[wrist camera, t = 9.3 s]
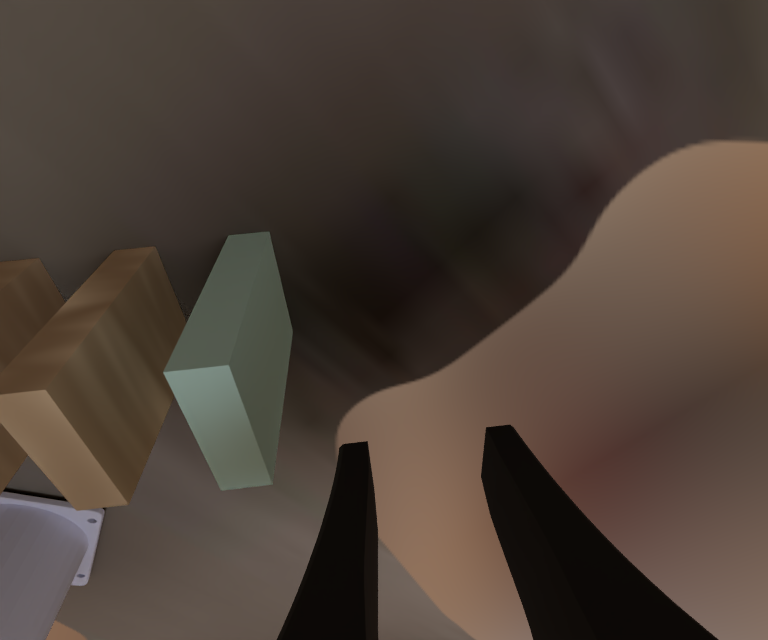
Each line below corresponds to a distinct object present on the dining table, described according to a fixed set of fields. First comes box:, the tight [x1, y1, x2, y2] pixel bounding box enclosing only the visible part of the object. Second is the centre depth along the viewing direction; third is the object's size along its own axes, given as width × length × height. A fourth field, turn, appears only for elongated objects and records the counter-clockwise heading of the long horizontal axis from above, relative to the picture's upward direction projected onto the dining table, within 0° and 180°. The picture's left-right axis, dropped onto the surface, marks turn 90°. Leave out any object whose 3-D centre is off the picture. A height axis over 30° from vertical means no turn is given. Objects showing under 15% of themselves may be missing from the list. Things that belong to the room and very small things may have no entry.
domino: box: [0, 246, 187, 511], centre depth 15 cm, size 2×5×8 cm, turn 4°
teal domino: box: [163, 231, 293, 491], centre depth 15 cm, size 2×5×8 cm, turn 3°
